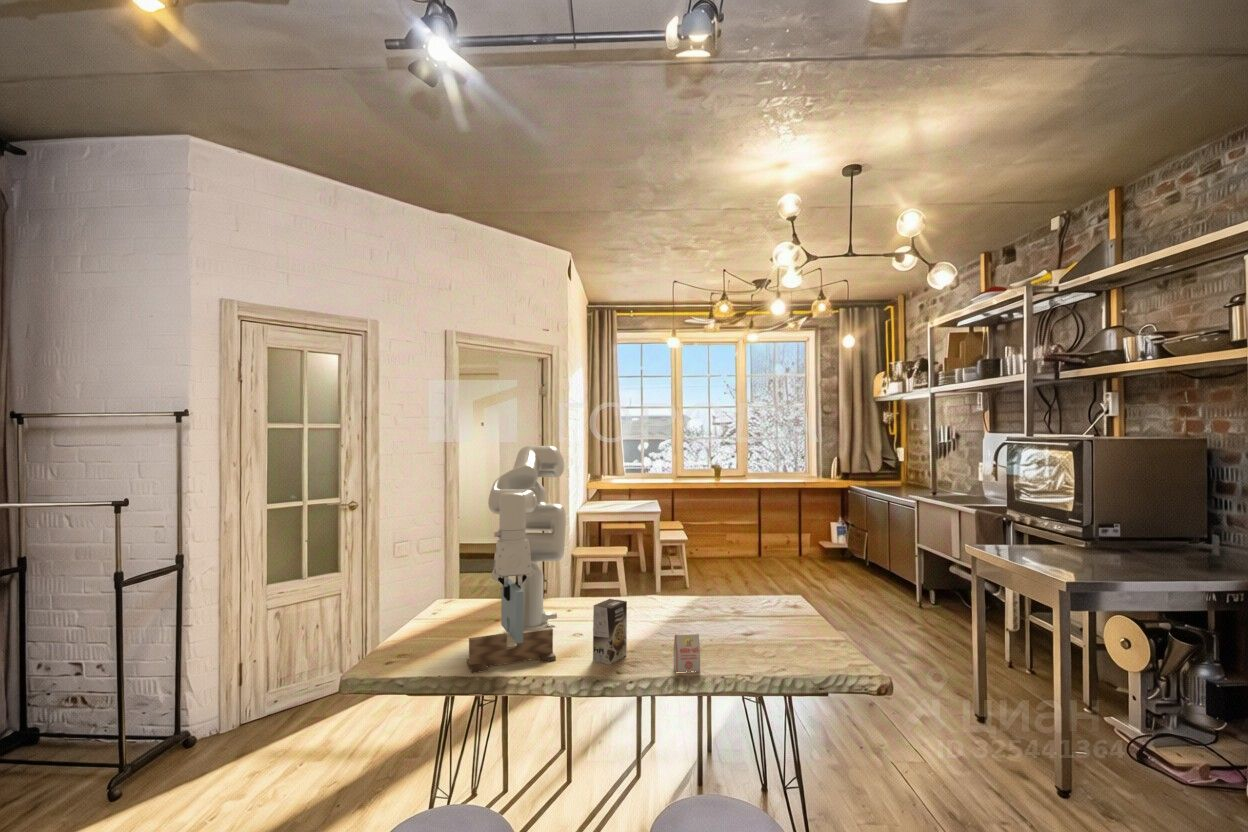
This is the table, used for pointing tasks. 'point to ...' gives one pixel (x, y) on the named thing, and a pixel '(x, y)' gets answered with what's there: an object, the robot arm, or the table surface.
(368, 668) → the table surface
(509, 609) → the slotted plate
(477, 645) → the slotted board
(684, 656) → the white carton
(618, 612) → the coffee box
